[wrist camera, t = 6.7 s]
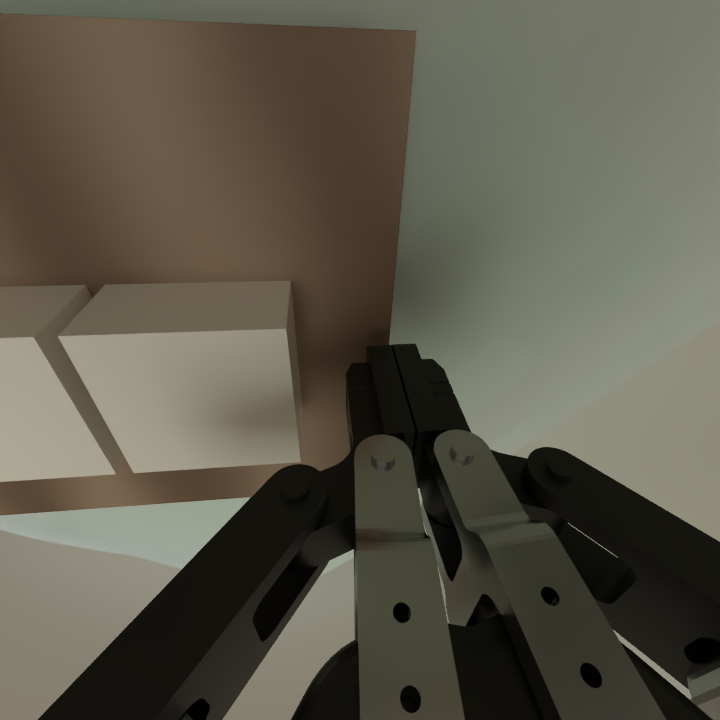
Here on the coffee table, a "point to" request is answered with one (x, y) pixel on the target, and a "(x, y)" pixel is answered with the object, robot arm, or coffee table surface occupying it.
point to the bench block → (207, 194)
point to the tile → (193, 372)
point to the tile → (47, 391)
